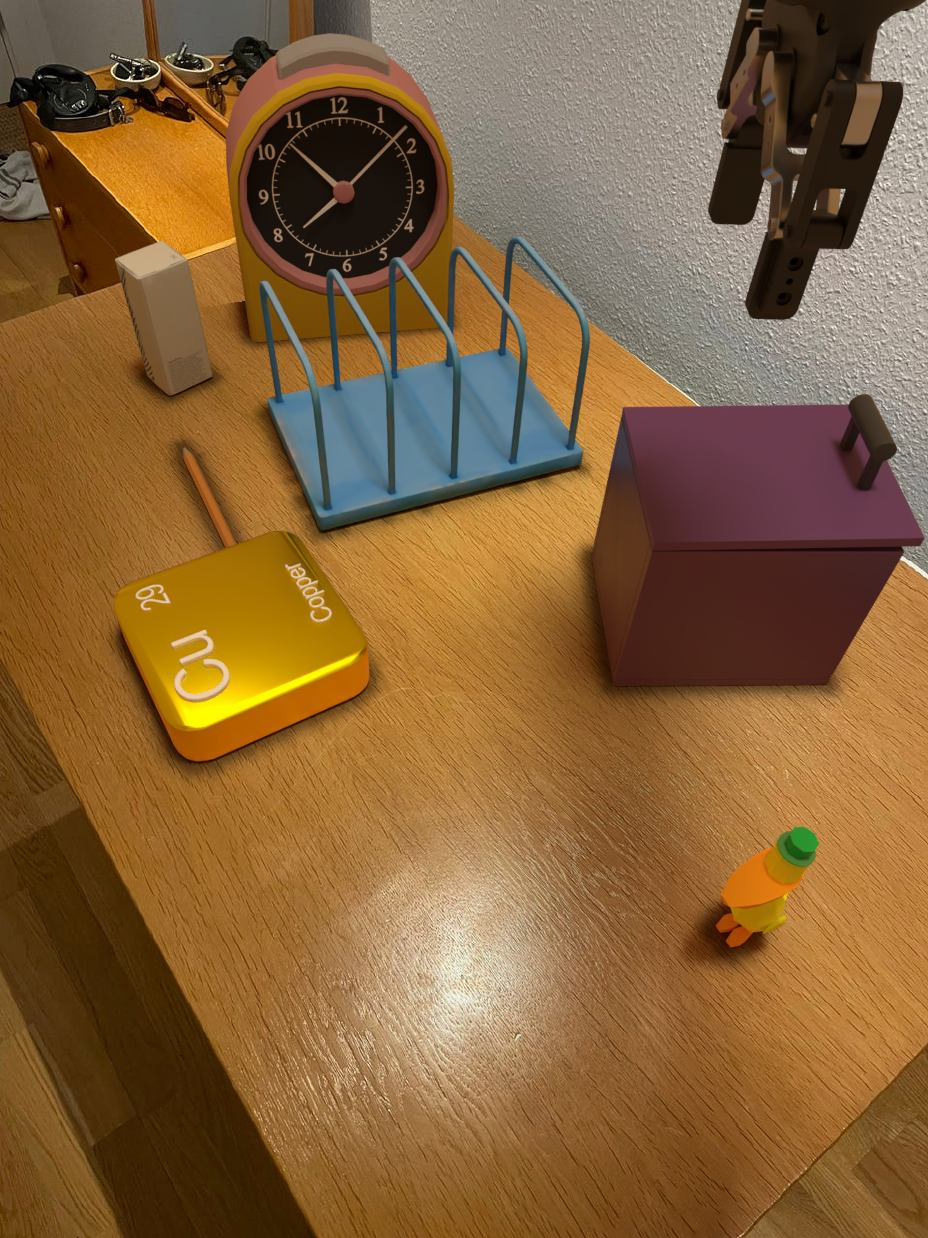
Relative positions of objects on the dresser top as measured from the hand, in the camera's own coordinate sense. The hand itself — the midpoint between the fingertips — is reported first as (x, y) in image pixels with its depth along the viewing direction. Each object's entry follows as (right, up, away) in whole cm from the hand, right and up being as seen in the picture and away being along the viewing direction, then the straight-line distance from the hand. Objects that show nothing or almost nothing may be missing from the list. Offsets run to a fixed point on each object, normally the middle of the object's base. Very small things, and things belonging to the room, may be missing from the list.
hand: (747, 264), depth 45 cm
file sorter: (-17, 0, +44) cm, 47 cm away
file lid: (+7, -7, +20) cm, 22 cm away
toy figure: (+3, -37, +15) cm, 40 cm away
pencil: (-35, -8, +37) cm, 51 cm away
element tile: (-30, -20, +27) cm, 45 cm away
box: (-42, +7, +48) cm, 64 cm away
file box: (+6, -17, +31) cm, 36 cm away
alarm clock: (-26, +16, +57) cm, 65 cm away
